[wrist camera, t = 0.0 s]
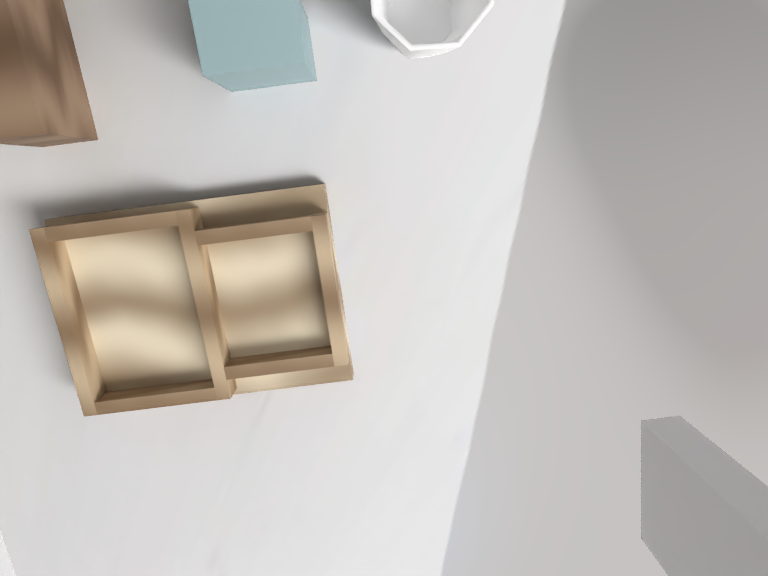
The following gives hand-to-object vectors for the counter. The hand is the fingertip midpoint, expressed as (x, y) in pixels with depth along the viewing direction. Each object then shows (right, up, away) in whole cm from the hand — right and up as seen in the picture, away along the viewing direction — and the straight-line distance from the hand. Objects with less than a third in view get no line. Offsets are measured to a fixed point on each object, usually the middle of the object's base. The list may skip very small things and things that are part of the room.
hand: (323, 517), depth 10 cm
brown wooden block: (-22, +20, +24) cm, 38 cm away
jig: (-12, +4, +28) cm, 30 cm away
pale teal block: (-7, +21, +24) cm, 32 cm away
